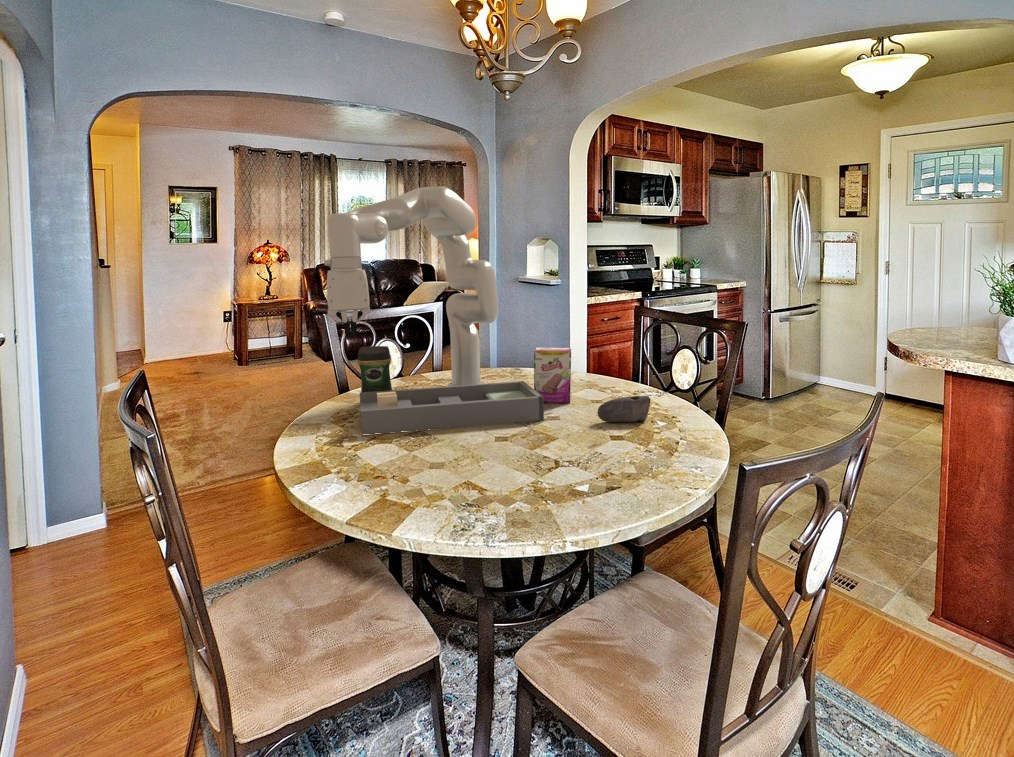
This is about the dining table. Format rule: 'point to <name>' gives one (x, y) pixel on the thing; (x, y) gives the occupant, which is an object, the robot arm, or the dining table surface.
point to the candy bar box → (553, 374)
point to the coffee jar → (375, 368)
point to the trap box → (452, 407)
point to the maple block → (387, 400)
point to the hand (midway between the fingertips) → (351, 337)
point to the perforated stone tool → (625, 409)
